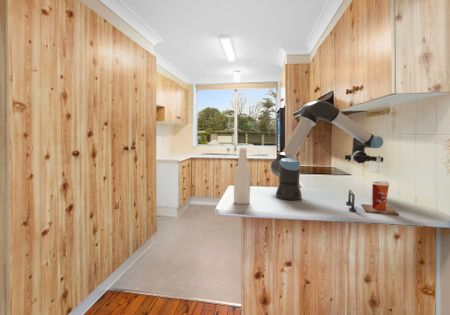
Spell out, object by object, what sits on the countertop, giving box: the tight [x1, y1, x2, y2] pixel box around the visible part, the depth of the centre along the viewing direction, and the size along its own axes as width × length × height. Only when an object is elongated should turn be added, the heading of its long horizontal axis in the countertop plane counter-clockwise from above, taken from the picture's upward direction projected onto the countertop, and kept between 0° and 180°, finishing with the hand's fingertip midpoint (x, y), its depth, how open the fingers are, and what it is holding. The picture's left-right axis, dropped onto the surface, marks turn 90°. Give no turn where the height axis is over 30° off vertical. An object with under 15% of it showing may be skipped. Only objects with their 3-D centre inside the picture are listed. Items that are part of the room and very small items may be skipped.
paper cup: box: [371, 179, 390, 210], centre depth 128 cm, size 8×8×14 cm
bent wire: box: [345, 189, 357, 213], centre depth 133 cm, size 3×16×8 cm, turn 160°
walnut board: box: [360, 203, 400, 216], centre depth 129 cm, size 14×13×1 cm
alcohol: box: [233, 147, 251, 205], centre depth 138 cm, size 9×9×30 cm
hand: (366, 159), depth 143 cm, fingers open, 13 cm apart
